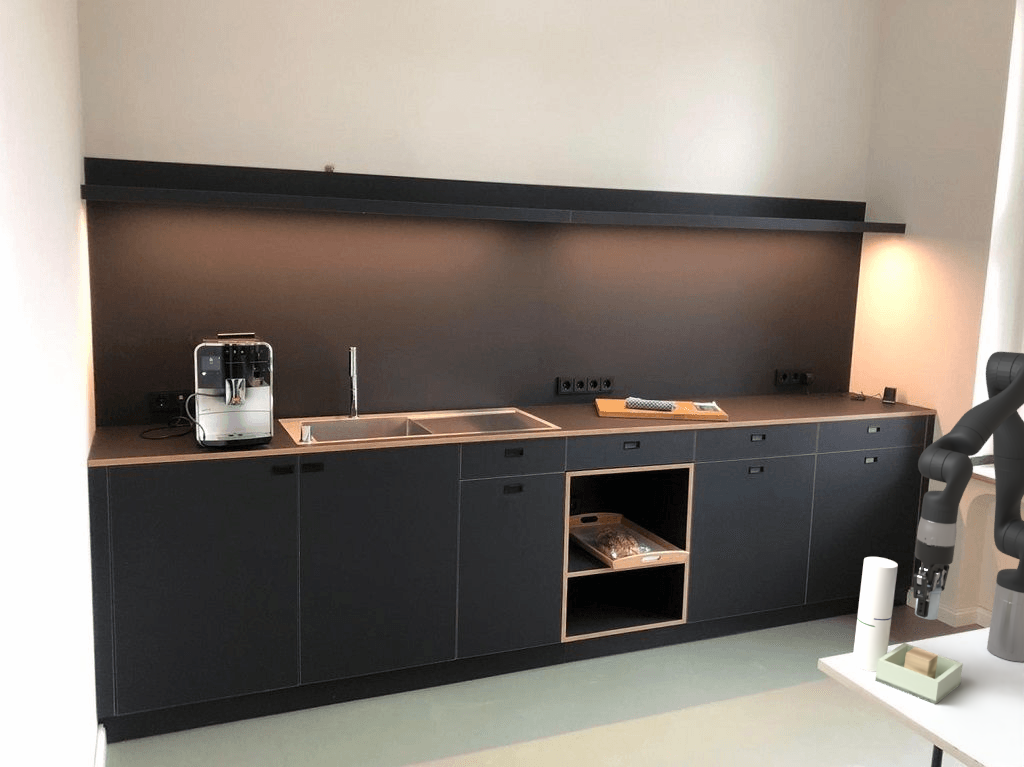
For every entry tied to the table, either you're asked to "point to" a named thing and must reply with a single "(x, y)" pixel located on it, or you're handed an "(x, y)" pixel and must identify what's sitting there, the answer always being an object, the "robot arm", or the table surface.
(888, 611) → the cylindrical container
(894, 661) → the crate
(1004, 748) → the table surface
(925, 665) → the oak block
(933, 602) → the ceramic jar
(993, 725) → the table surface
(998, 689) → the table surface
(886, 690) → the table surface
